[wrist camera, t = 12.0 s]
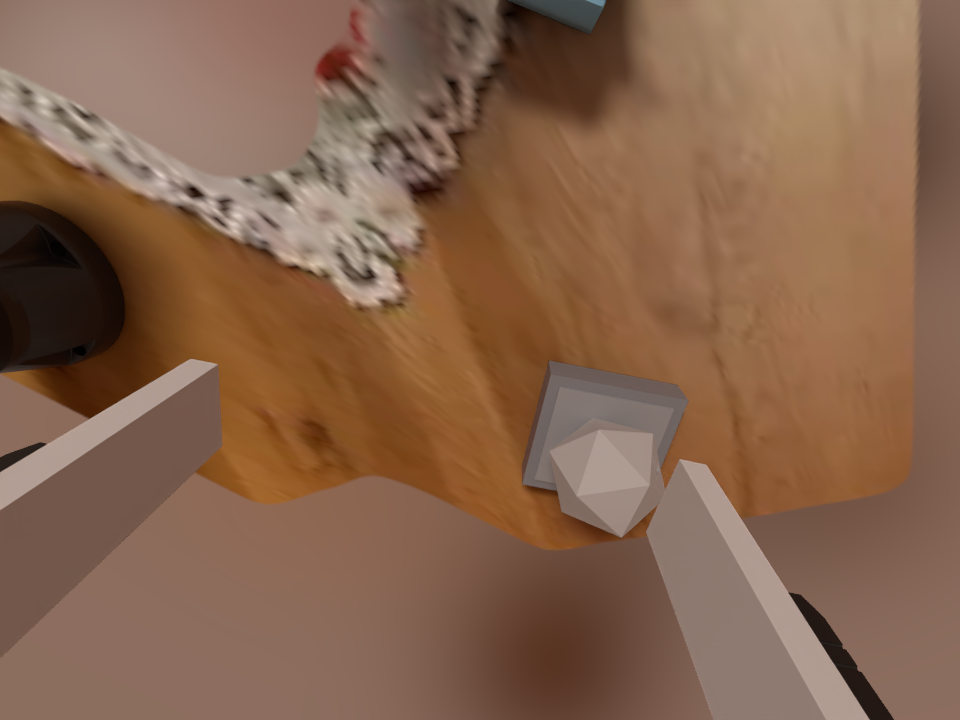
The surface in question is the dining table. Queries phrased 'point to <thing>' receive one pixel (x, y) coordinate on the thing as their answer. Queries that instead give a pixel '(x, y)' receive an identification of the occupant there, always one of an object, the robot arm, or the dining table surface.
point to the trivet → (596, 412)
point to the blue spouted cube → (567, 11)
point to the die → (608, 475)
